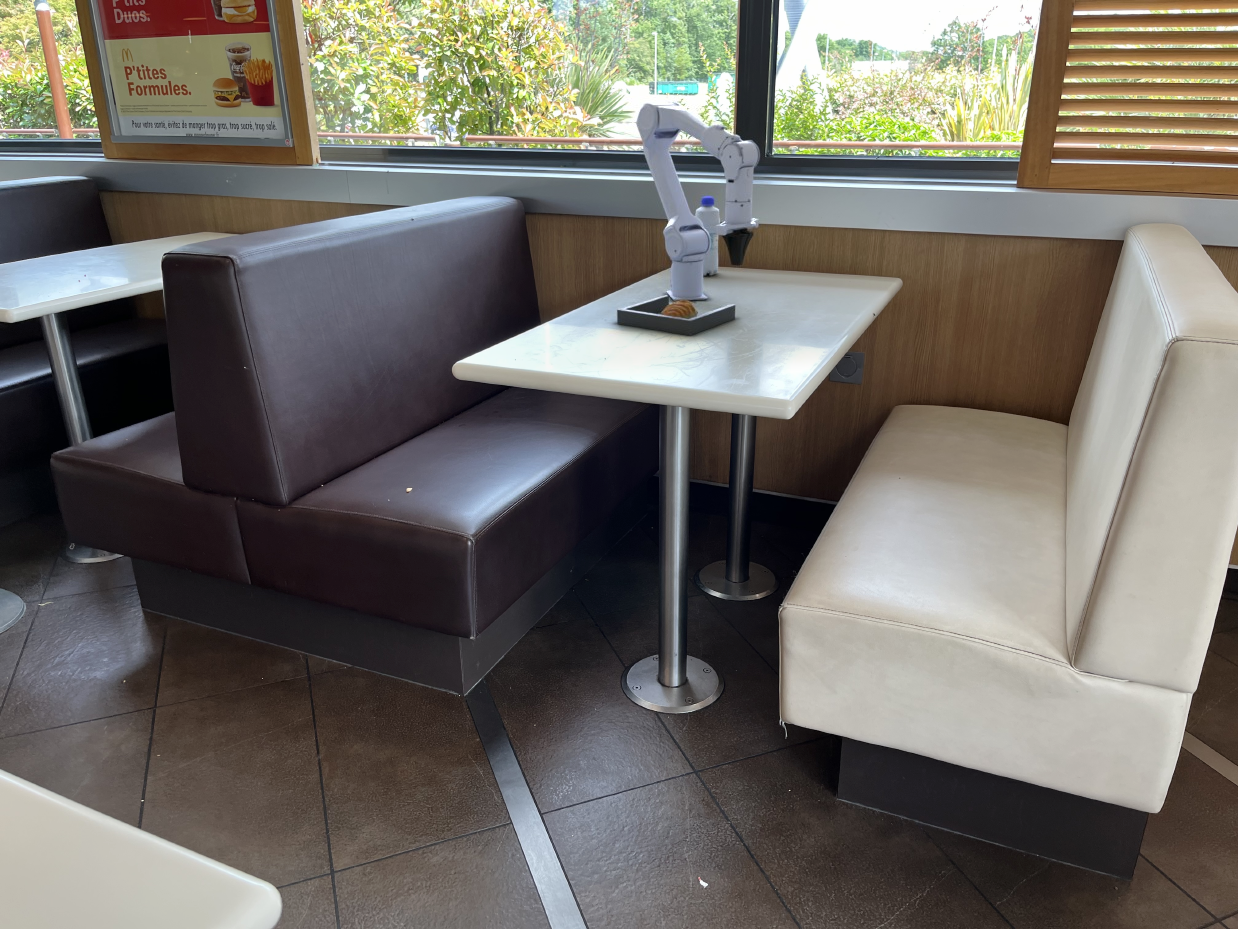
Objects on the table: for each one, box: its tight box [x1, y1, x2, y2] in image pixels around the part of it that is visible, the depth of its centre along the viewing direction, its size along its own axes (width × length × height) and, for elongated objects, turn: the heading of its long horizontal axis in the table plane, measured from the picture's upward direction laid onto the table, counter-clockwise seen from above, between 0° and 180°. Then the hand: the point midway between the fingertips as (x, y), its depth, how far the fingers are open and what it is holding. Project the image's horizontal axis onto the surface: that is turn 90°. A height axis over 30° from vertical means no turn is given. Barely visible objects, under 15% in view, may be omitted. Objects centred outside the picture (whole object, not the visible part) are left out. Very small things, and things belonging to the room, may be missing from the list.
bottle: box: [694, 195, 721, 277], centre depth 234 cm, size 7×7×20 cm
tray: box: [616, 294, 736, 337], centre depth 188 cm, size 18×18×3 cm
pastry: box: [661, 300, 698, 319], centre depth 188 cm, size 9×7×4 cm
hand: (736, 264), depth 196 cm, fingers closed
